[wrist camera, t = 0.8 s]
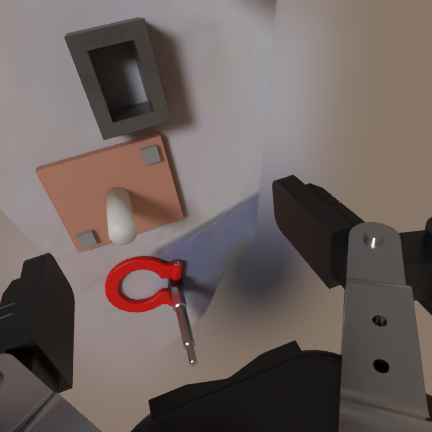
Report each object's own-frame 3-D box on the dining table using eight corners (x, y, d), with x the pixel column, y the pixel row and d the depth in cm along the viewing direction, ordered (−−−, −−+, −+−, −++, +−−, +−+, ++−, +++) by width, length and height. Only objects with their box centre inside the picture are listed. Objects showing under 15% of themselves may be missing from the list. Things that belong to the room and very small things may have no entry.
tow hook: (105, 308, 44) (176, 303, 47) (104, 403, 33) (196, 389, 36) (105, 255, 40) (182, 252, 43) (103, 343, 30) (207, 332, 32)
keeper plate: (36, 167, 33) (23, 207, 26) (158, 132, 34) (175, 161, 28) (78, 247, 38) (76, 297, 32) (181, 213, 40) (200, 253, 33)
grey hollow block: (66, 33, 28) (64, 36, 25) (138, 17, 29) (144, 18, 26) (102, 127, 33) (103, 140, 29) (163, 110, 34) (171, 121, 30)
